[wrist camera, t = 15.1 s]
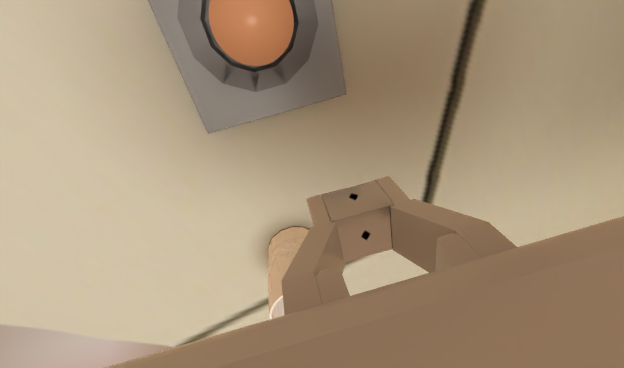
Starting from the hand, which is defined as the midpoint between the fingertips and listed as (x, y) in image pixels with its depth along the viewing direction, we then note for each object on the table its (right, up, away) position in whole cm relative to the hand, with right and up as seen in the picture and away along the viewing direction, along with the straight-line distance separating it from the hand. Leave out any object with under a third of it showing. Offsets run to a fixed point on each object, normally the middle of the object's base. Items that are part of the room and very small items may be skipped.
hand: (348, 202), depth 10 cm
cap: (-6, +14, +13) cm, 20 cm away
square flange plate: (-7, +15, +14) cm, 21 cm away
